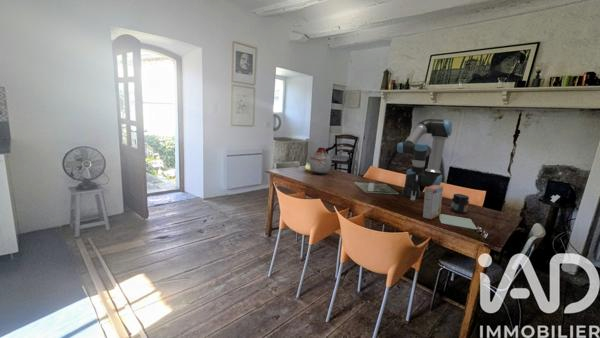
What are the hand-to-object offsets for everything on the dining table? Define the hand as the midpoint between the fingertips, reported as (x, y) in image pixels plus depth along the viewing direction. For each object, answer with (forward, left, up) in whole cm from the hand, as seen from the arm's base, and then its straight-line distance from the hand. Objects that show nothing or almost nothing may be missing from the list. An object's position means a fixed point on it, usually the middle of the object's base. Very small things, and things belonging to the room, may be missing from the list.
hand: (412, 199), depth 180 cm
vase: (-75, -89, -10) cm, 117 cm away
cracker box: (0, +13, -10) cm, 16 cm away
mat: (0, +28, -10) cm, 30 cm away
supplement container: (-23, +33, -10) cm, 42 cm away
